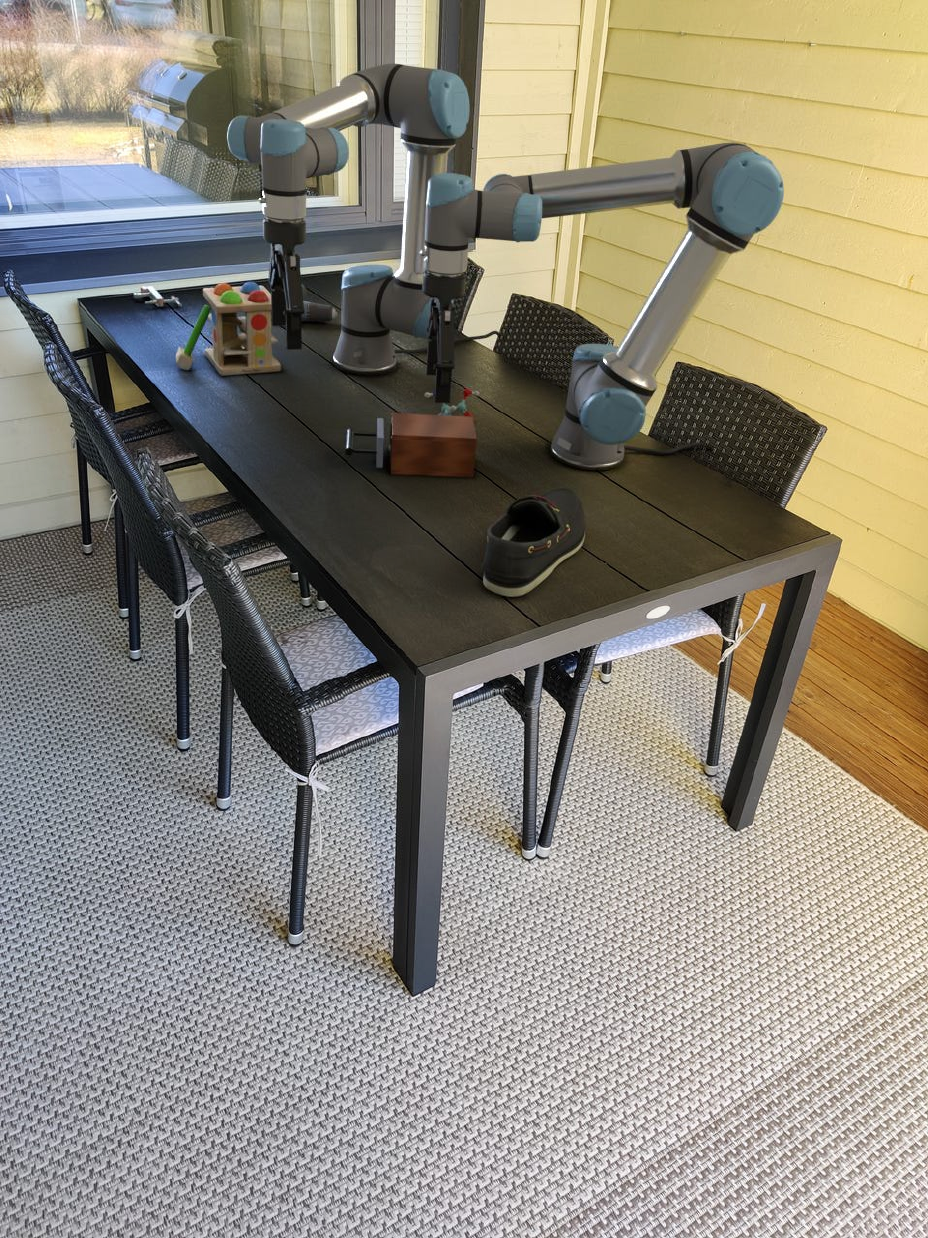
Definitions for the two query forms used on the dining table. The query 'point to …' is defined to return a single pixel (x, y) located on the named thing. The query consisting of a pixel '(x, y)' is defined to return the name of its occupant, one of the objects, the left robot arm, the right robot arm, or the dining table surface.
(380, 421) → the drawer
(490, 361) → the dining table surface
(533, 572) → the boat shoe
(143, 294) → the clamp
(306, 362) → the dining table surface
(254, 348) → the pounding bench toy
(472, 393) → the molecular model
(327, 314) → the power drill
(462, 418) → the cabinet
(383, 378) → the dining table surface
